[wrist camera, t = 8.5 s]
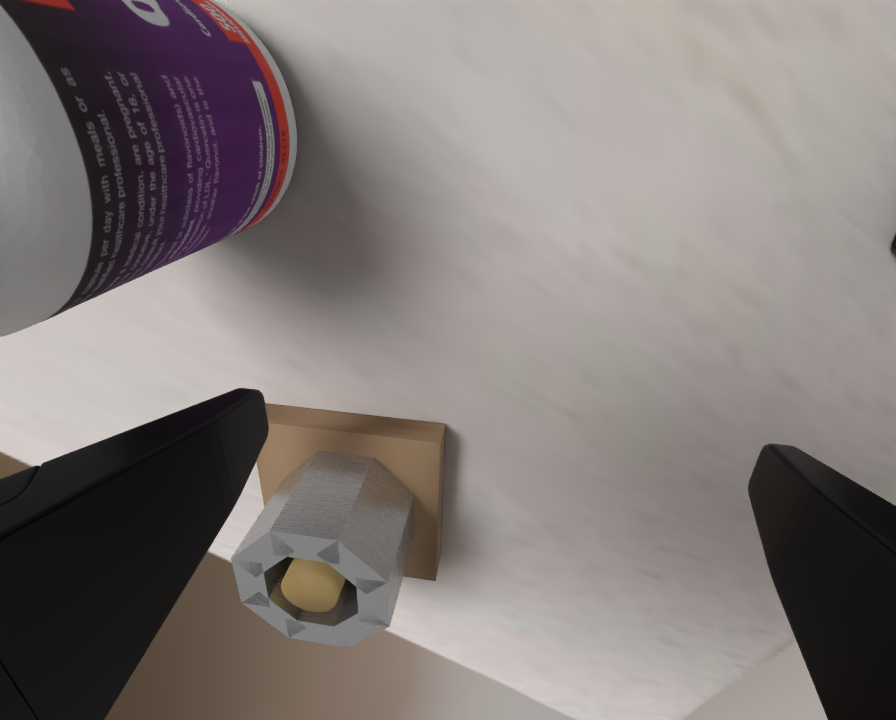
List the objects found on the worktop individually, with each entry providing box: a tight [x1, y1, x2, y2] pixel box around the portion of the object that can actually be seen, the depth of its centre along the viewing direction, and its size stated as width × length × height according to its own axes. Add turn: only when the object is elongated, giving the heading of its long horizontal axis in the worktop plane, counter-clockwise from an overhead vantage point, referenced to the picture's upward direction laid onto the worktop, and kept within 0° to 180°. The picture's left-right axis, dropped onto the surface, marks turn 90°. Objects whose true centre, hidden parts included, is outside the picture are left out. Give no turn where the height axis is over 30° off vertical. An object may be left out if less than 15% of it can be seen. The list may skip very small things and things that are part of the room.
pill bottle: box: [0, 0, 297, 337], centre depth 13 cm, size 8×8×14 cm
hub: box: [231, 451, 414, 648], centre depth 23 cm, size 6×6×5 cm
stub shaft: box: [257, 404, 445, 612], centre depth 23 cm, size 9×9×6 cm
